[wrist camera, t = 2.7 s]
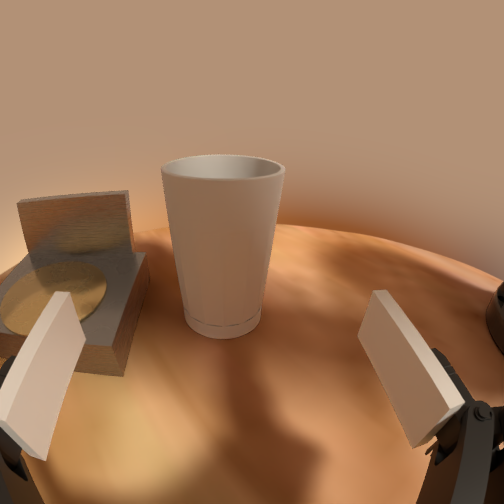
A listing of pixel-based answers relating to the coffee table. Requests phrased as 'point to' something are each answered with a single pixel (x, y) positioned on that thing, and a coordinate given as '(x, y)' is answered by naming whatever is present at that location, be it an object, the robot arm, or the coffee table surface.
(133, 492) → the coffee table surface
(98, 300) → the grey holder block
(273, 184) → the cup
